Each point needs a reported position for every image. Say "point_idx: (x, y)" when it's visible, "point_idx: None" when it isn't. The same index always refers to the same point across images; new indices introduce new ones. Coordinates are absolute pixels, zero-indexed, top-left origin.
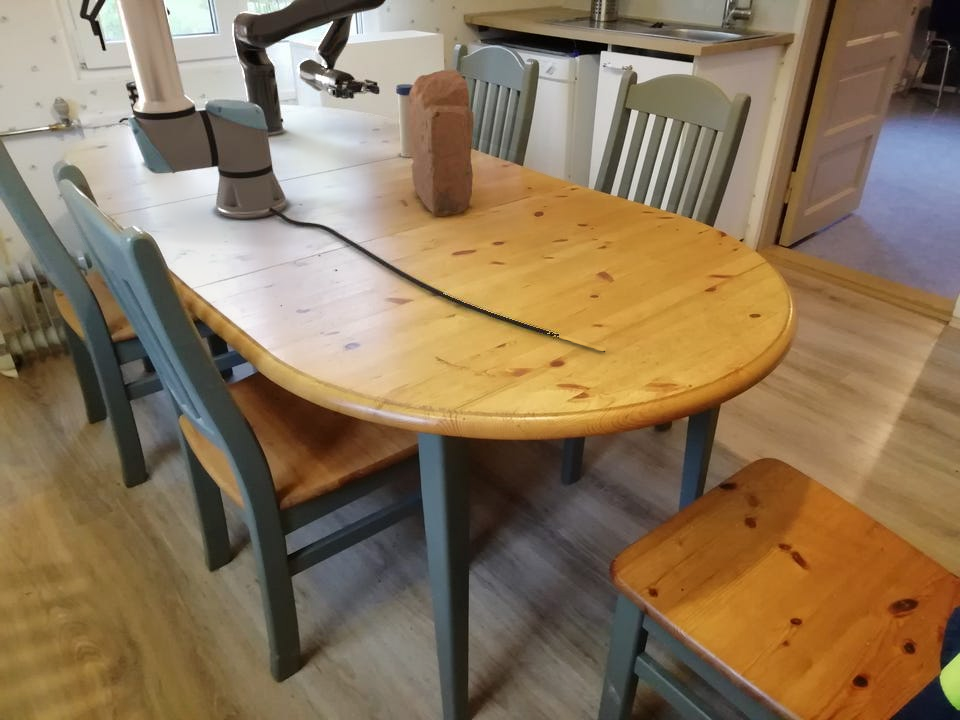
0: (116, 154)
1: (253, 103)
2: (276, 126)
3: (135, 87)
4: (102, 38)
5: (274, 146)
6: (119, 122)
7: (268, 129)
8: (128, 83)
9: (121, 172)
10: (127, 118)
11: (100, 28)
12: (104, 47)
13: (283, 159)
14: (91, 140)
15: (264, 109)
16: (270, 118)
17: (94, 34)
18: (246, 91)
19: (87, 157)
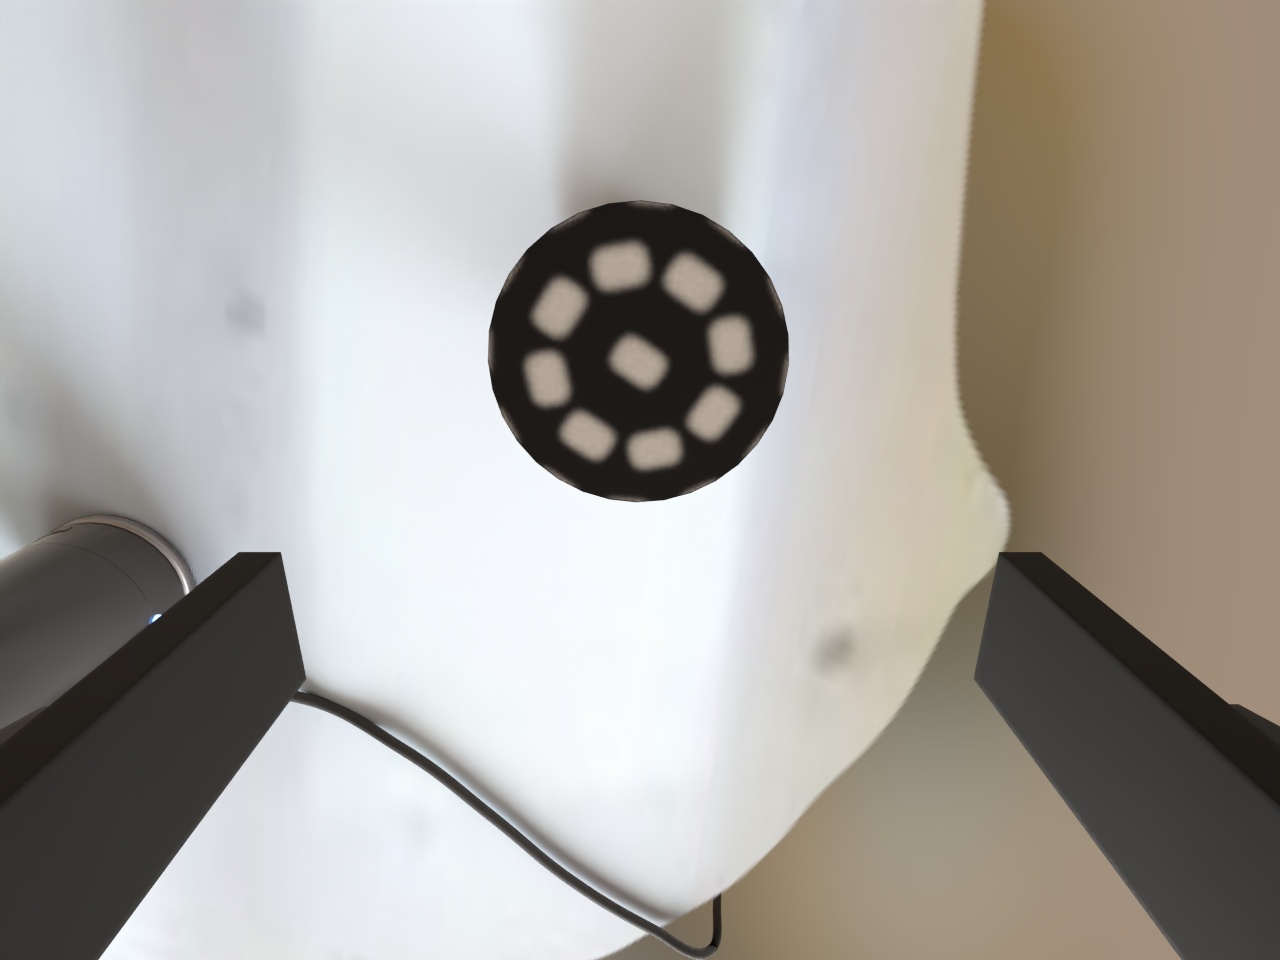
0: (804, 519)
1: (45, 623)
2: (42, 537)
3: (726, 230)
4: (1105, 643)
5: (90, 330)
6: (714, 946)
7: (91, 529)
8: (758, 416)
9: (838, 209)
10: (684, 950)
11: (1224, 752)
12: (1035, 571)
13: (36, 46)
14: (854, 758)
15: (11, 577)
16: (29, 551)
17: (1253, 718)
18: (31, 707)
19: (919, 526)
